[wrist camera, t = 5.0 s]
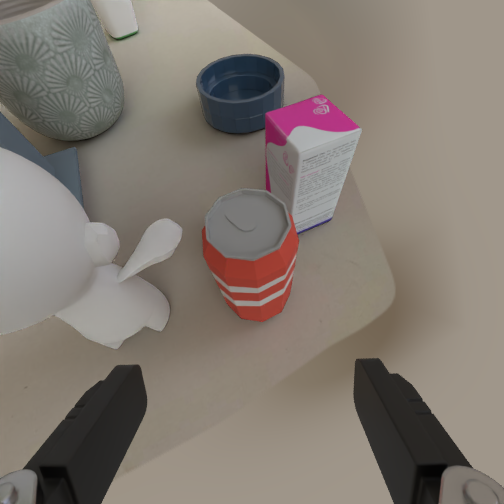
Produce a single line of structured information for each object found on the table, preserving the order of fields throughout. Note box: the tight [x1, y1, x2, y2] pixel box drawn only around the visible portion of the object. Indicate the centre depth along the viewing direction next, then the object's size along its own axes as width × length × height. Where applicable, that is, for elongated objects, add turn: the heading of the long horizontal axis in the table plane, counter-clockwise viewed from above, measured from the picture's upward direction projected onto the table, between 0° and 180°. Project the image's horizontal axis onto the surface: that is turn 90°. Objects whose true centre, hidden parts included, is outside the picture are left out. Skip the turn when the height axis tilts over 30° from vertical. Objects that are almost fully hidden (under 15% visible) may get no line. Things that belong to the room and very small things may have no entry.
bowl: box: [196, 54, 284, 133], centre depth 38 cm, size 12×12×5 cm
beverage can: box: [202, 188, 299, 322], centre depth 21 cm, size 6×6×12 cm
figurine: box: [0, 147, 182, 350], centre depth 16 cm, size 16×8×20 cm, turn 112°
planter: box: [0, 0, 124, 141], centre depth 35 cm, size 17×17×15 cm
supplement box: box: [265, 95, 362, 235], centre depth 25 cm, size 6×6×12 cm
